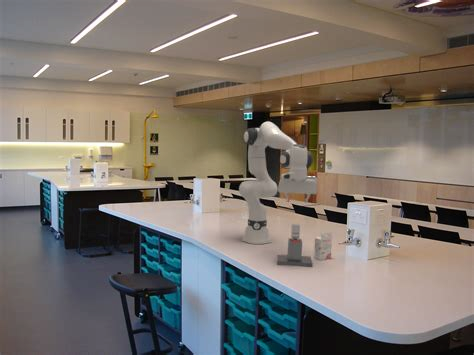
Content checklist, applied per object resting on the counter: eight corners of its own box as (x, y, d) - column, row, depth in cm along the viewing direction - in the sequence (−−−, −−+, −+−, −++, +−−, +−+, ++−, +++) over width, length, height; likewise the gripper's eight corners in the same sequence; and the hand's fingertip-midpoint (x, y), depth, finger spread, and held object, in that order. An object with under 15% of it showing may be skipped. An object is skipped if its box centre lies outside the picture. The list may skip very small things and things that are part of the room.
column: (290, 257, 228) (291, 224, 226) (298, 257, 227) (299, 224, 226) (290, 259, 223) (291, 225, 222) (298, 260, 223) (300, 226, 222)
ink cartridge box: (324, 256, 240) (326, 230, 239) (331, 258, 236) (332, 232, 235) (313, 258, 236) (314, 231, 235) (319, 260, 232) (321, 233, 230)
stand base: (277, 258, 233) (278, 234, 232) (310, 260, 231) (311, 236, 230) (277, 264, 220) (278, 240, 219) (312, 266, 218) (313, 242, 217)
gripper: (317, 176, 224) (316, 202, 225) (278, 174, 226) (277, 200, 227) (318, 176, 218) (317, 203, 219) (278, 175, 220) (277, 201, 221)
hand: (296, 202), depth 223 cm, fingers open, 8 cm apart
